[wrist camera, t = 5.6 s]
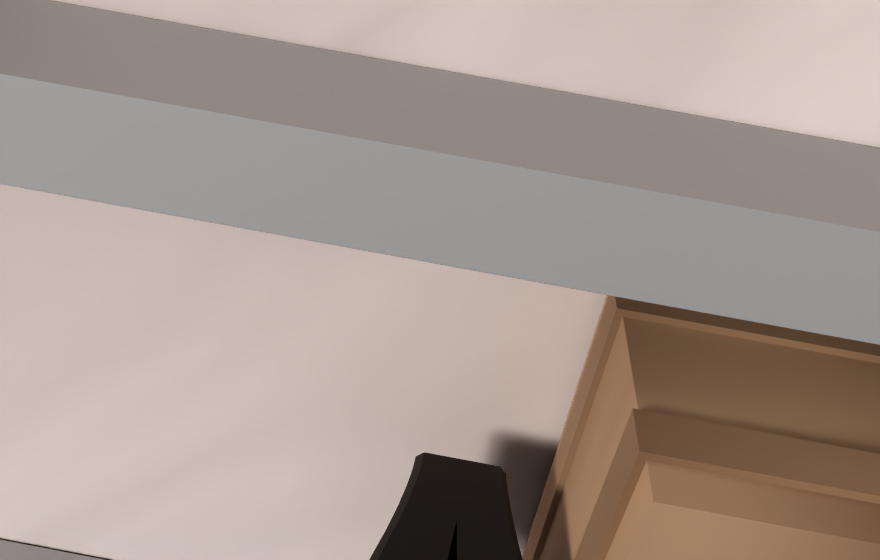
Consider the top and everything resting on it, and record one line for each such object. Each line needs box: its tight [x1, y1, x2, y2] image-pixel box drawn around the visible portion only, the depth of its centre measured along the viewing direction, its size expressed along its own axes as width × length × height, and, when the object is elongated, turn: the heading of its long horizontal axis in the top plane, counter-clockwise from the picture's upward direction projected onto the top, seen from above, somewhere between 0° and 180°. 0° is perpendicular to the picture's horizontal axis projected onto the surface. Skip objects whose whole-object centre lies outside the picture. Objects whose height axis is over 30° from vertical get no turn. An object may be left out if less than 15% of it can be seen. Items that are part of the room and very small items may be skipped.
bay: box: [0, 0, 880, 560], centre depth 11 cm, size 23×13×4 cm, turn 82°
